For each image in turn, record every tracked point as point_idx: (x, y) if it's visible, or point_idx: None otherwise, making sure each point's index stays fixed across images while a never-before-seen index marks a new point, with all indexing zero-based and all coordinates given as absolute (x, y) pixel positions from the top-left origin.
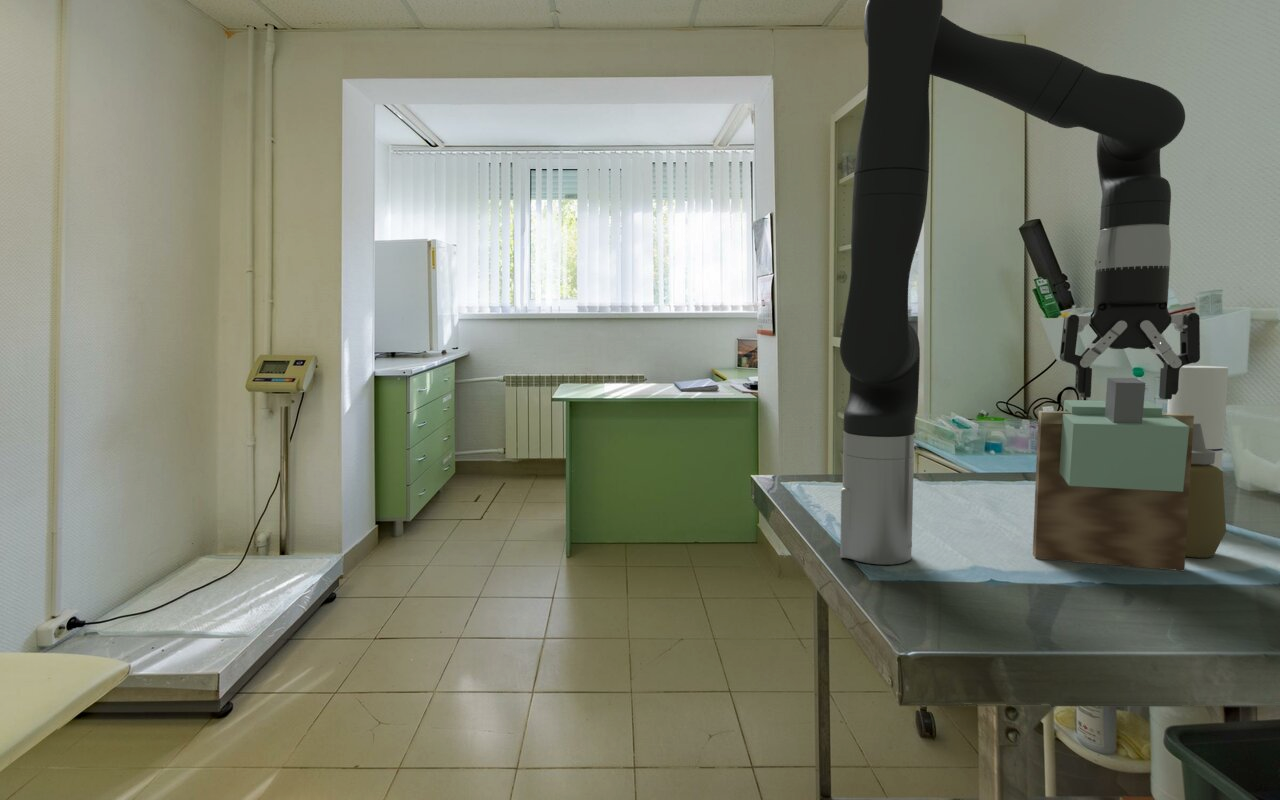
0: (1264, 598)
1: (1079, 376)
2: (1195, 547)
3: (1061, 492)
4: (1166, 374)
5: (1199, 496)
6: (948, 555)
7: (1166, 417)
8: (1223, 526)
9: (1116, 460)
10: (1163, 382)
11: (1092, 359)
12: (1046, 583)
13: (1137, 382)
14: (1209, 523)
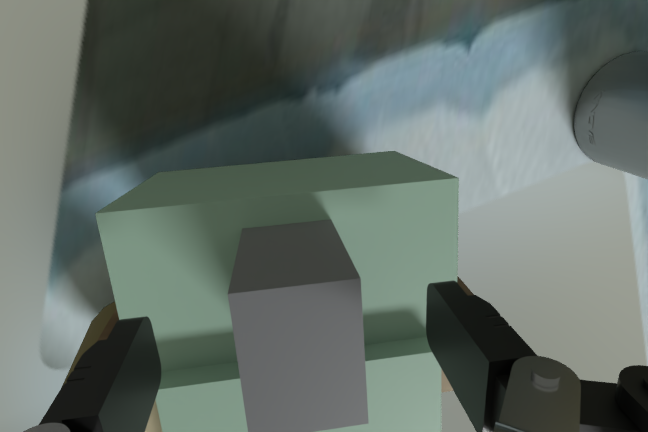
0: (78, 107)
1: (515, 341)
2: None
3: None
4: (110, 392)
5: None
6: (512, 156)
7: None
8: (90, 327)
9: (306, 170)
10: (133, 389)
11: (519, 398)
12: (388, 58)
13: (262, 307)
14: (112, 313)
